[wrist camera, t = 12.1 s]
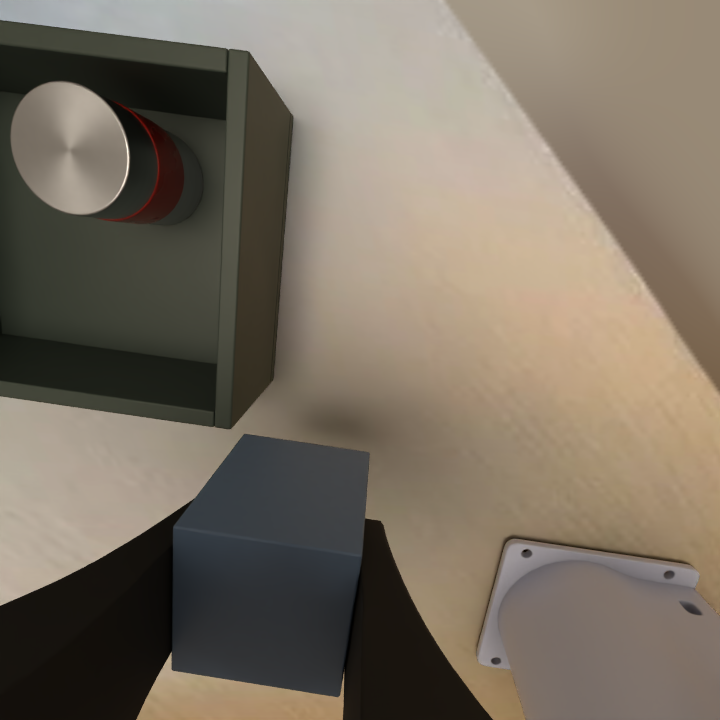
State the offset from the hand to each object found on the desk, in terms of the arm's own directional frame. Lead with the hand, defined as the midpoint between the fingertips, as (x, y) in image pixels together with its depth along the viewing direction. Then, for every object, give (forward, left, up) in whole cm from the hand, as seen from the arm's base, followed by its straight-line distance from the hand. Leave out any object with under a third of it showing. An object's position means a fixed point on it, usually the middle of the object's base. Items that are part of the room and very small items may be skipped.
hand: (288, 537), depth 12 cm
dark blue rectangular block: (0, 0, -2) cm, 2 cm away
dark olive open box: (+9, -7, -8) cm, 14 cm away
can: (+8, -10, -8) cm, 15 cm away
